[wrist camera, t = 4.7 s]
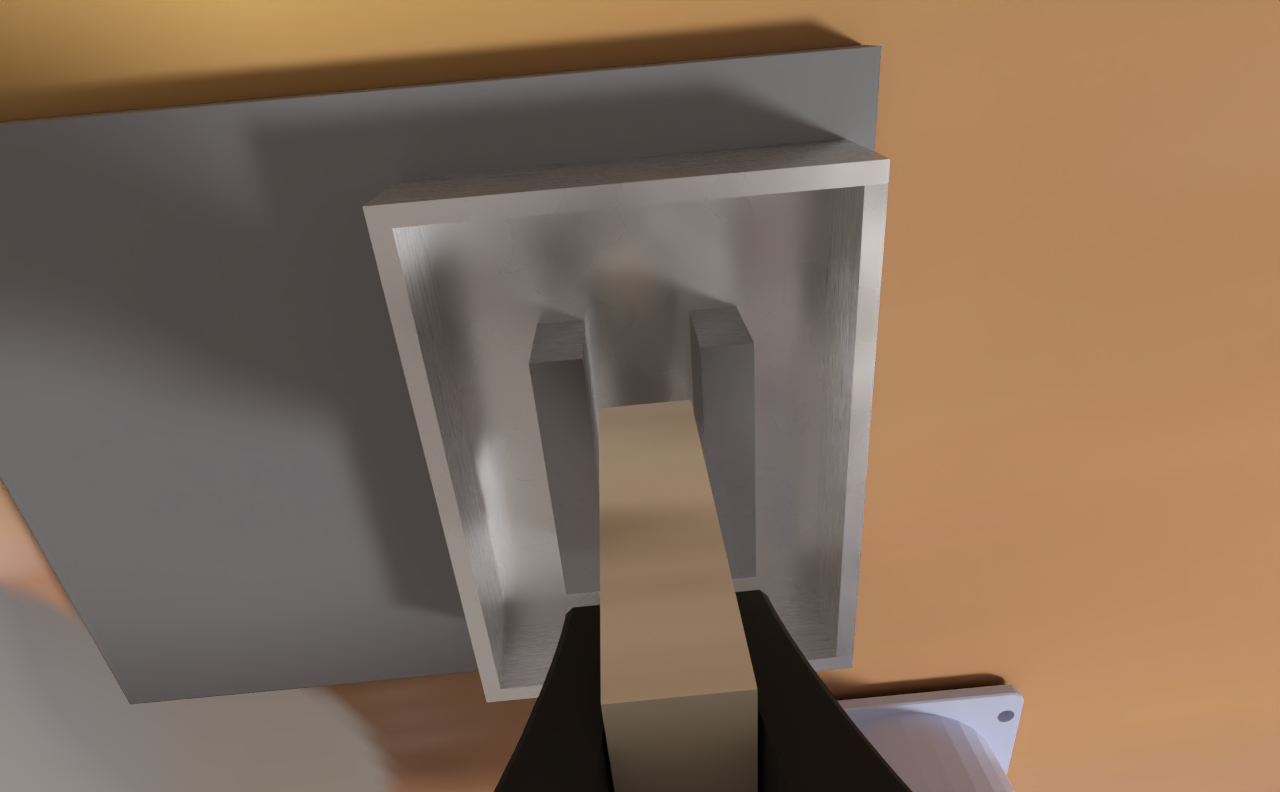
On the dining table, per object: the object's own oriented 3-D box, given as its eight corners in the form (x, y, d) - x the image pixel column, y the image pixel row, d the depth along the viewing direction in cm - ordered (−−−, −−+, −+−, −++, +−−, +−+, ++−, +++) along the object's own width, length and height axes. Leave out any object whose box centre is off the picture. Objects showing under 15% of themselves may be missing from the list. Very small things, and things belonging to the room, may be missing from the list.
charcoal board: (832, 611, 21) (842, 637, 20) (149, 675, 21) (130, 704, 20) (864, 44, 14) (880, 46, 14) (-142, 134, 14) (-192, 141, 13)
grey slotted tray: (823, 595, 20) (851, 667, 17) (499, 625, 20) (486, 702, 17) (845, 138, 14) (890, 159, 12) (399, 178, 14) (362, 206, 12)
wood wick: (700, 590, 15) (757, 918, 10) (622, 598, 15) (636, 930, 10) (690, 399, 13) (758, 689, 7) (599, 408, 13) (600, 704, 7)
